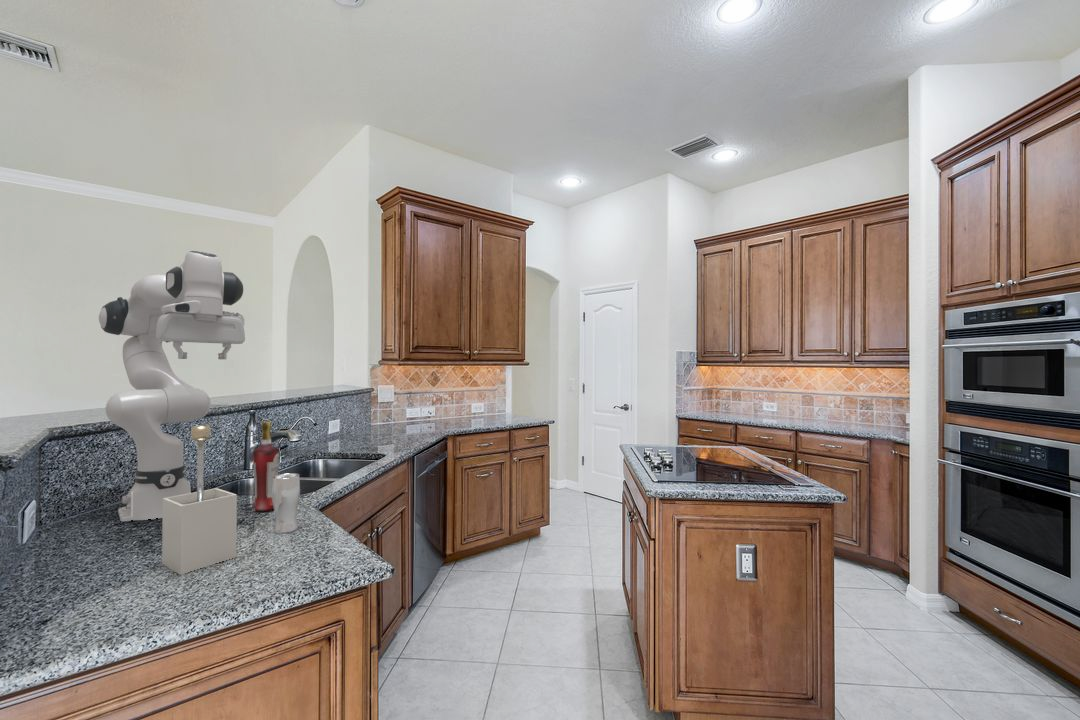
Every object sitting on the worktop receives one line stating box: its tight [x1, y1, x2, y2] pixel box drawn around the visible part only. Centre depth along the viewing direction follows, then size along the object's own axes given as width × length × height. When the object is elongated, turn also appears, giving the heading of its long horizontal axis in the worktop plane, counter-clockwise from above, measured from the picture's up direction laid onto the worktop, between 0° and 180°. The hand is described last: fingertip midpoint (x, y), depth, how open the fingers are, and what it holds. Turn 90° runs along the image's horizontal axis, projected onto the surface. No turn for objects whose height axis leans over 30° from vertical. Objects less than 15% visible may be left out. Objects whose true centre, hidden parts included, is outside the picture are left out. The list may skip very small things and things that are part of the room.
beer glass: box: [272, 472, 301, 534], centre depth 128 cm, size 7×7×15 cm
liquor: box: [252, 421, 280, 512], centre depth 147 cm, size 7×7×28 cm
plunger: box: [183, 425, 214, 505], centre depth 108 cm, size 9×9×19 cm
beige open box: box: [161, 487, 238, 576], centre depth 108 cm, size 11×11×15 cm
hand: (203, 359), depth 127 cm, fingers open, 8 cm apart
